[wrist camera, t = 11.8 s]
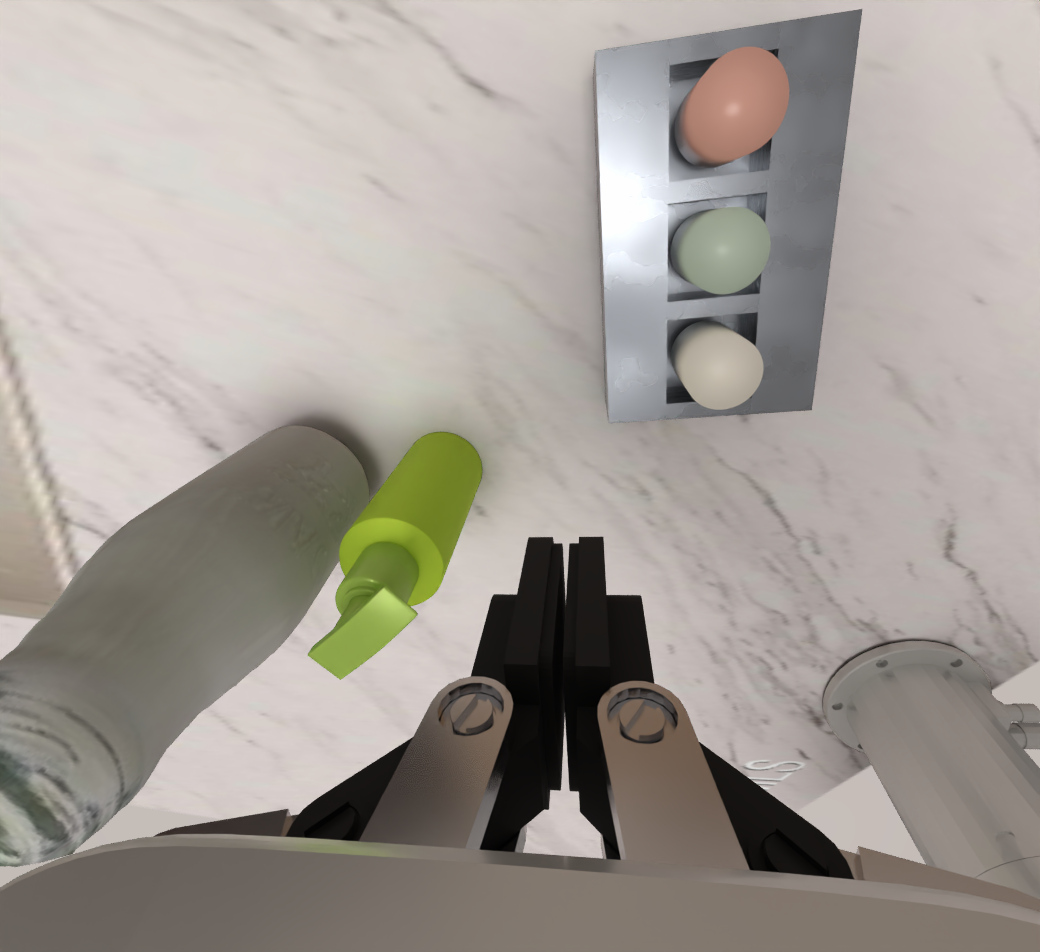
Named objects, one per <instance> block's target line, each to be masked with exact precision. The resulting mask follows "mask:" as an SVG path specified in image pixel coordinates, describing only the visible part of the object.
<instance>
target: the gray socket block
mask: <svg viewBox="0 0 1040 952" xmlns="http://www.w3.org/2000/svg"><path fill="white" fill-rule="evenodd" d="M861 15H862V9H859V10H853V11H847V12H840V13H834V14H827V15H821V16H815V17H808V18H802V19H796V20H789V21H783V22H776V23H770V24H764V25H757V26H751V27H744V28H738V29H732V30H725V31H719V32H713V33H706V34H700V35H693V36H687V37H681V38H674V39H668V40H662V41H655V42H649V43H642V44H636V45H630V46H623V47H617V48H611V49H604V50H598V51H595V59H594V69H593V89H594V115H595V141H596V167H597V192H598V218H599V244H600V269H601V295H602V321H603V347H604V372H605V398H606V407H607V414H608V420H609V423H621V422H636V421H651V420H667V419H682V418H697V417H713V416H728V415H743V414H759V413H774V412H789V411H805V410H812V403H813V395H814V387H815V379H816V371H817V363H818V355H819V348H820V340H821V332H822V324H823V316H824V308H825V300H826V292H827V284H828V276H829V268H830V260H831V253H832V245H833V237H834V229H835V221H836V213H837V205H838V197H839V189H840V181H841V173H842V166H843V158H844V150H845V142H846V134H847V126H848V118H849V110H850V102H851V94H852V86H853V78H854V71H855V63H856V55H857V47H858V39H859V31H860V23H861ZM742 47H758V48H762V49H764V50H767V51H769V52H770V53H772V54H773V55H774V56H775V57H776V58H777V59H778V60H779V61H780V62H781V64H782V65H783V67H784V69H785V72H786V74H787V78H788V82H789V101H788V107H787V110H786V114H785V116H784V119H783V121H782V123H781V125H780V127H779V128H778V130H777V131H776V133H775V134H774V135H773V136H772V138H771V139H770V140H769V141H768V142H767V143H766V144H764V145H763V146H762V147H761V148H759V149H757V150H756V151H754V152H752V153H750V154H748V155H745V156H743V157H741V158H738V159H736V160H734V161H731V162H729V163H727V164H724V165H722V166H719V167H715V168H701V167H698V166H695V165H693V164H691V163H690V162H688V161H687V160H686V159H685V158H684V157H683V155H682V154H681V152H680V151H679V149H678V146H677V143H676V140H675V130H674V129H675V120H676V116H677V112H678V110H679V107H680V105H681V103H682V101H683V100H684V98H685V97H686V96H687V94H688V93H689V92H690V91H691V89H692V88H693V87H694V86H695V85H696V83H697V82H698V81H699V80H700V79H701V77H702V76H703V75H704V74H705V72H706V71H707V70H708V69H709V68H710V67H711V65H712V64H713V63H714V62H715V61H716V60H718V59H719V58H720V57H722V56H723V55H724V54H726V53H728V52H730V51H732V50H735V49H737V48H742ZM726 207H743V208H747V209H749V210H751V211H753V212H755V213H756V214H757V215H759V216H760V217H761V218H762V220H763V221H764V222H765V224H766V226H767V228H768V231H769V234H770V241H771V245H770V254H769V257H768V260H767V263H766V265H765V267H764V269H763V271H762V272H761V273H760V275H759V276H758V277H757V278H756V279H755V280H754V281H753V282H752V283H751V284H750V285H748V286H747V287H745V288H743V289H742V290H739V291H737V292H734V293H730V294H714V293H710V292H708V291H705V290H703V289H701V288H699V287H697V286H695V285H693V284H691V283H689V282H687V281H686V280H684V279H683V278H681V277H680V276H679V275H678V273H677V272H676V270H675V269H674V267H673V264H672V260H671V244H672V241H673V237H674V235H675V233H676V231H677V230H678V228H679V227H680V225H681V224H682V223H683V222H684V221H685V220H686V219H688V218H689V217H690V216H692V215H693V214H696V213H698V212H701V211H704V210H711V209H718V208H726ZM705 320H711V321H717V322H720V323H722V324H724V325H726V326H727V327H729V328H730V329H732V330H733V331H735V332H736V333H738V334H739V335H741V336H742V337H744V338H745V339H747V340H748V341H750V342H751V343H752V344H753V345H754V346H755V347H756V348H757V349H758V351H759V352H760V354H761V357H762V360H763V376H762V379H761V382H760V384H759V386H758V388H757V390H756V391H755V392H754V394H753V395H752V396H751V397H750V398H749V399H747V400H746V401H745V402H743V403H742V404H740V405H738V406H735V407H733V408H729V409H723V410H715V409H710V408H706V407H704V406H702V405H700V404H699V403H697V402H696V401H695V400H694V399H693V398H692V397H691V395H690V394H689V392H688V391H687V389H686V388H685V386H684V385H683V383H682V382H681V380H680V379H679V377H678V376H677V374H676V373H675V371H674V369H673V367H672V364H671V350H672V346H673V343H674V341H675V339H676V338H677V336H678V335H679V334H680V333H681V332H682V331H683V330H684V329H685V328H687V327H688V326H690V325H691V324H694V323H696V322H699V321H705Z"/></svg>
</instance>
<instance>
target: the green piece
mask: <svg viewBox="0 0 1040 952" xmlns="http://www.w3.org/2000/svg"><path fill="white" fill-rule="evenodd" d="M770 245H771V241H770V234H769V231H768V228H767V226H766V224H765V222H764V221H763V220H762V218H761V217H760V216H759V215H757V214H756V213H755V212H753V211H751V210H749V209H747V208H743V207H726V208H718V209H711V210H704V211H701V212H698V213H696V214H693V215H692V216H690V217H689V218H688V219H686V220H685V221H684V222H683V223H682V224H681V225H680V227H679V228H678V230H677V231H676V233H675V235H674V237H673V241H672V244H671V260H672V264H673V267H674V269H675V270H676V272H677V273H678V275H679V276H680V277H681V278H683V279H684V280H686V281H687V282H689V283H691V284H693V285H695V286H697V287H699V288H701V289H703V290H705V291H708V292H710V293H714V294H730V293H734V292H737V291H739V290H742V289H743V288H745V287H747V286H748V285H750V284H751V283H752V282H753V281H754V280H755V279H756V278H757V277H758V276H759V275H760V273H761V272H762V271H763V269H764V267H765V265H766V263H767V260H768V257H769V254H770Z"/></svg>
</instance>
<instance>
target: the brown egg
mask: <svg viewBox="0 0 1040 952" xmlns="http://www.w3.org/2000/svg"><path fill="white" fill-rule="evenodd" d="M788 101H789V82H788V78H787V74H786V72H785V69H784V67H783V65H782V64H781V62H780V61H779V60H778V59H777V58H776V57H775V56H774V55H773V54H772V53H770V52H769V51H767V50H764V49H762V48H758V47H742V48H737V49H735V50H732V51H730V52H728V53H726V54H724V55H723V56H722V57H720V58H719V59H718V60H716V61H715V62H714V63H713V64H712V65H711V67H710V68H709V69H708V70H707V71H706V72H705V74H704V75H703V76H702V77H701V79H700V80H699V81H698V82H697V83H696V85H695V86H694V87H693V88H692V89H691V91H690V92H689V93H688V94H687V96H686V97H685V98H684V100H683V101H682V103H681V105H680V107H679V110H678V112H677V116H676V120H675V129H674V130H675V140H676V143H677V146H678V149H679V151H680V152H681V154H682V155H683V157H684V158H685V159H686V160H687V161H688V162H690V163H691V164H693V165H695V166H698V167H701V168H715V167H719V166H722V165H724V164H727V163H729V162H731V161H734V160H736V159H738V158H741V157H743V156H745V155H748V154H750V153H752V152H754V151H756V150H757V149H759V148H761V147H762V146H763V145H764V144H766V143H767V142H768V141H769V140H770V139H771V138H772V136H773V135H774V134H775V133H776V131H777V130H778V128H779V127H780V125H781V123H782V121H783V119H784V116H785V114H786V110H787V107H788Z"/></svg>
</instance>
